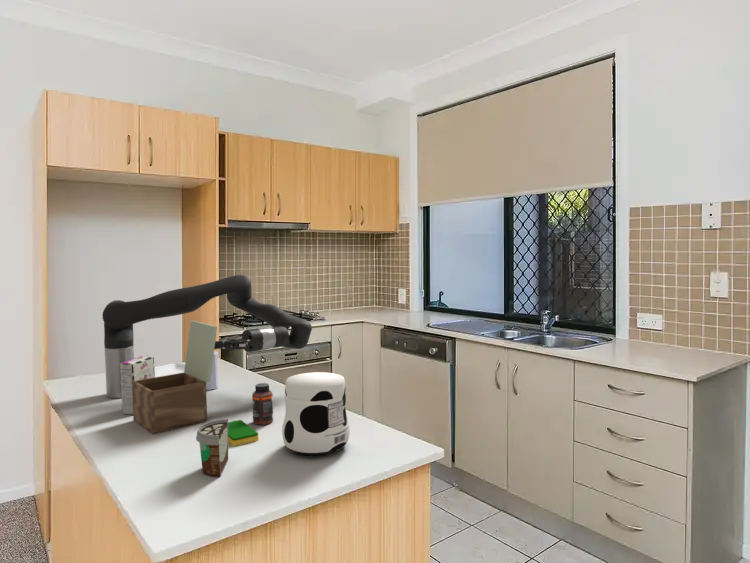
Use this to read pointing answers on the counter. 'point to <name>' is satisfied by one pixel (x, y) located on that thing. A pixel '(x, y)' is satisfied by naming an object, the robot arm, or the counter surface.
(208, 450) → the food container
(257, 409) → the supplement bottle
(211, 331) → the lid
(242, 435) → the dish sponge
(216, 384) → the soap bottle
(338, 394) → the milk container
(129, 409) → the candy bar box
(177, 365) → the salad plate
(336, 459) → the counter surface
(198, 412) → the walnut box
